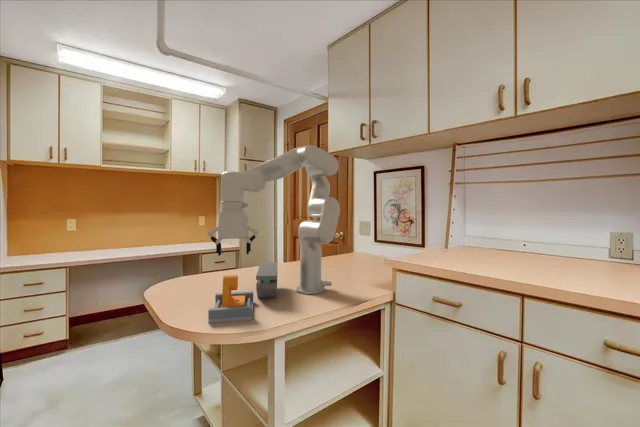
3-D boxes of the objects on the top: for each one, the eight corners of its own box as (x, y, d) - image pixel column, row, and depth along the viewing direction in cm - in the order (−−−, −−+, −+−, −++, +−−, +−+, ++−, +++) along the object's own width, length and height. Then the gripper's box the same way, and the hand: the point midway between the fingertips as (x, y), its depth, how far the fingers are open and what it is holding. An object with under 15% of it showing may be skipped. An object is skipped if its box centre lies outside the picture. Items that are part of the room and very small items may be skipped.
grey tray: (253, 301, 116) (253, 291, 116) (252, 319, 98) (252, 307, 98) (216, 304, 113) (216, 293, 113) (208, 323, 95) (208, 310, 95)
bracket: (243, 312, 101) (243, 278, 101) (222, 314, 100) (221, 279, 99) (245, 302, 112) (245, 271, 111) (225, 303, 110) (225, 272, 110)
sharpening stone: (260, 285, 139) (260, 262, 138) (277, 284, 140) (277, 262, 139) (256, 303, 114) (256, 276, 113) (276, 303, 115) (276, 275, 114)
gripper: (257, 206, 109) (258, 251, 110) (208, 206, 106) (210, 253, 107) (257, 206, 102) (258, 255, 103) (205, 207, 99) (206, 257, 100)
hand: (233, 254), depth 105 cm, fingers open, 9 cm apart
